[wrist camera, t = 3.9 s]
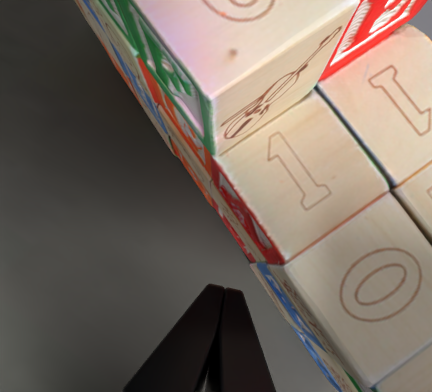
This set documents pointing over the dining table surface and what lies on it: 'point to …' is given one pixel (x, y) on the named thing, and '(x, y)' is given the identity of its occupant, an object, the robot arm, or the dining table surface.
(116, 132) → the dining table surface
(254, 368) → the robot arm
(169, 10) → the stack of blocks
